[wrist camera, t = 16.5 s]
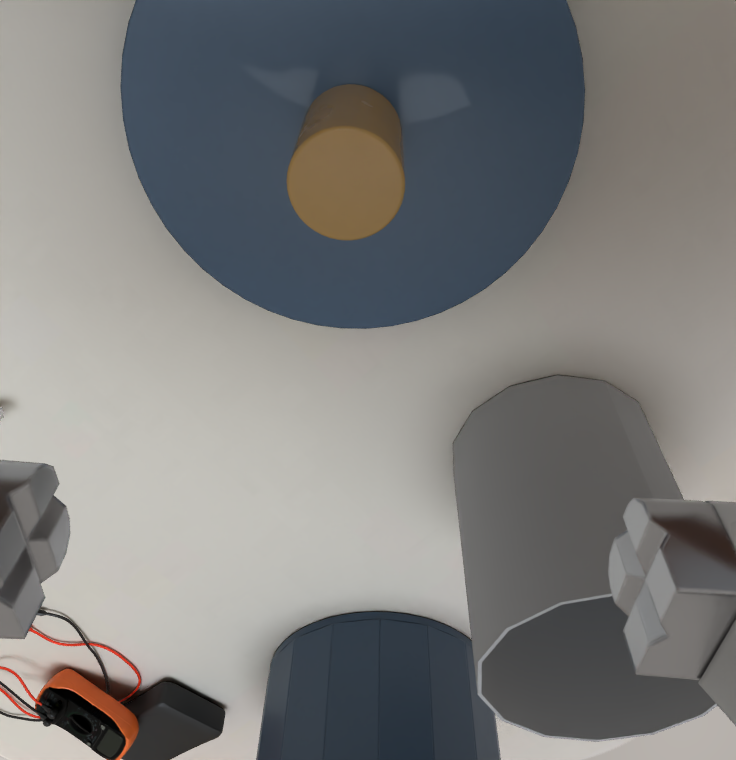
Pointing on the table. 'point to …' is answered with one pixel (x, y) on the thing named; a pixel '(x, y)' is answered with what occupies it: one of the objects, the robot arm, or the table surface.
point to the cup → (559, 559)
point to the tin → (376, 693)
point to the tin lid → (353, 144)
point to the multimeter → (123, 713)
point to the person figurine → (1, 413)
